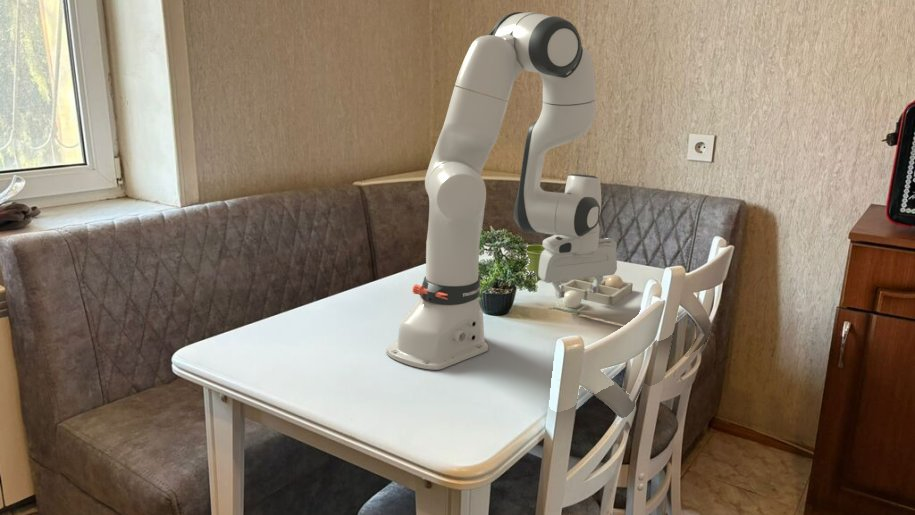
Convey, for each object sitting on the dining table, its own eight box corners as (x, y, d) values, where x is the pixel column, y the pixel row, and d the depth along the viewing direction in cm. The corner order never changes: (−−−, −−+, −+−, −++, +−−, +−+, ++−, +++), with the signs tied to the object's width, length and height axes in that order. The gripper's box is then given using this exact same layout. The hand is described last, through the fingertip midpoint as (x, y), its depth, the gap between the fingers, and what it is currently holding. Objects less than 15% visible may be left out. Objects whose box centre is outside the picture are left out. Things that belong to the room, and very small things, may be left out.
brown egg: (618, 296, 177) (619, 279, 176) (601, 292, 180) (603, 275, 179) (624, 291, 181) (626, 275, 180) (608, 288, 184) (610, 271, 182)
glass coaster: (577, 314, 166) (577, 311, 166) (553, 309, 169) (553, 306, 169) (588, 307, 171) (588, 304, 171) (565, 302, 174) (565, 299, 174)
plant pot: (514, 275, 195) (516, 246, 192) (543, 272, 198) (544, 243, 196) (531, 285, 186) (533, 254, 184) (560, 281, 190) (563, 251, 188)
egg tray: (611, 308, 171) (612, 297, 170) (560, 296, 178) (560, 285, 177) (631, 294, 182) (632, 283, 181) (582, 283, 189) (583, 273, 188)
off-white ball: (575, 313, 167) (577, 295, 166) (558, 308, 169) (559, 291, 168) (583, 307, 171) (585, 290, 169) (566, 303, 173) (568, 286, 172)
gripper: (609, 233, 171) (605, 286, 175) (536, 241, 164) (534, 295, 168) (624, 240, 165) (620, 294, 169) (549, 247, 158) (546, 304, 162)
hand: (576, 295), depth 169 cm, fingers open, 8 cm apart
